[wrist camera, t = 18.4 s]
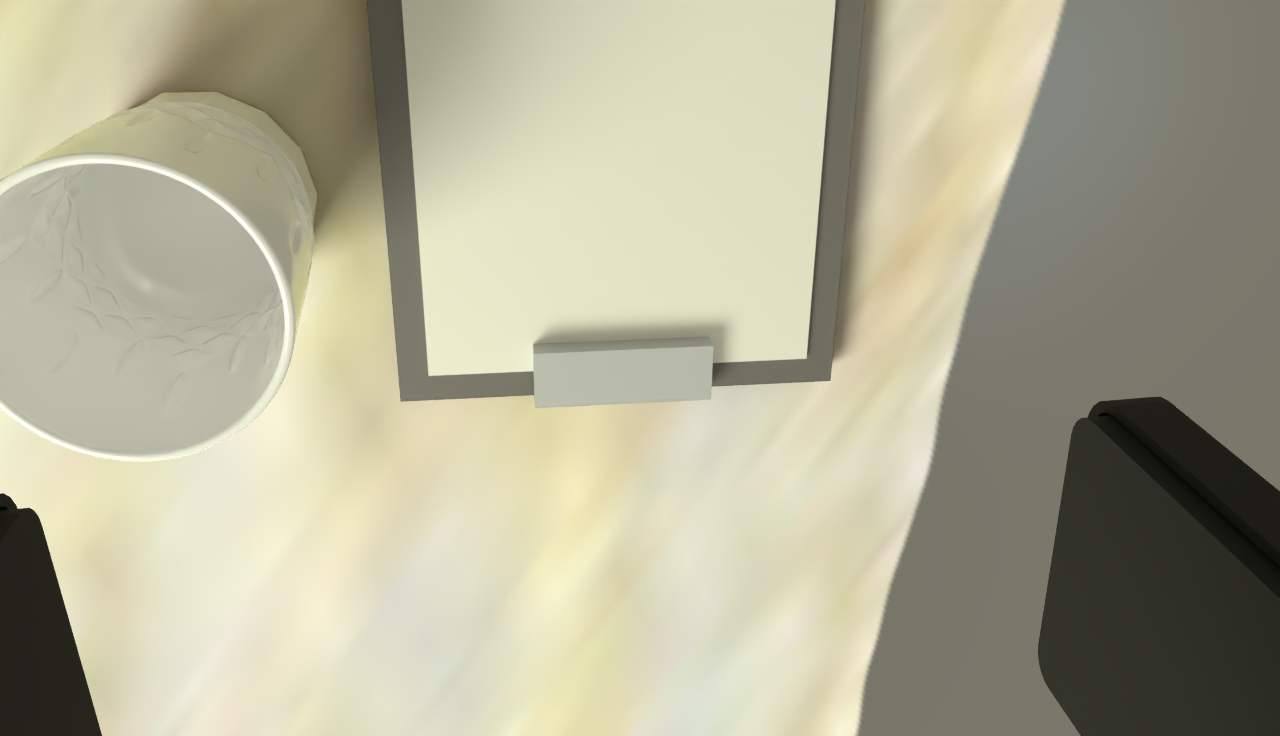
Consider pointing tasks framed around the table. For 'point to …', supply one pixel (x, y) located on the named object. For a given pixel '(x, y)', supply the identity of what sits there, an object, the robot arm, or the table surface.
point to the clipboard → (613, 193)
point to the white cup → (154, 278)
